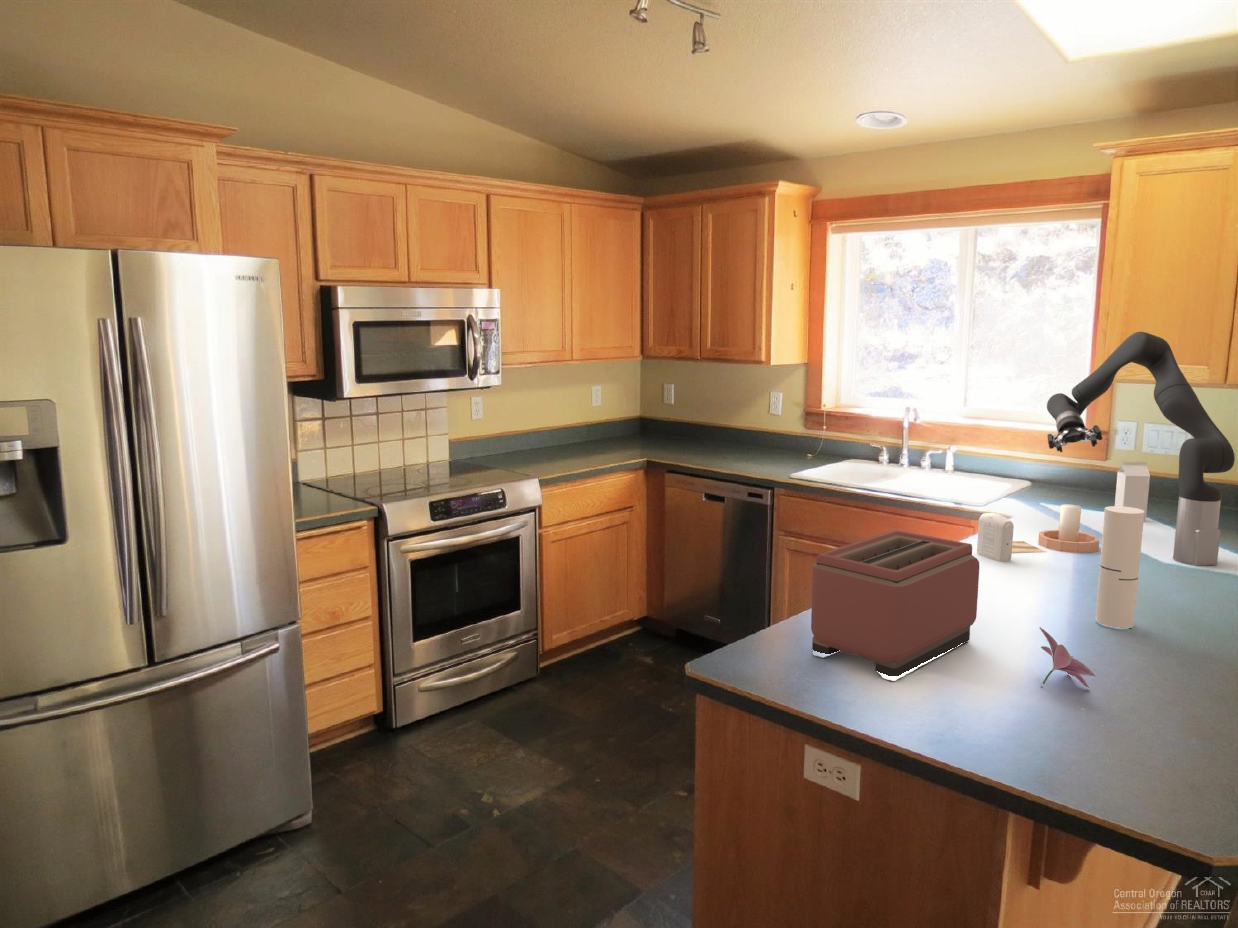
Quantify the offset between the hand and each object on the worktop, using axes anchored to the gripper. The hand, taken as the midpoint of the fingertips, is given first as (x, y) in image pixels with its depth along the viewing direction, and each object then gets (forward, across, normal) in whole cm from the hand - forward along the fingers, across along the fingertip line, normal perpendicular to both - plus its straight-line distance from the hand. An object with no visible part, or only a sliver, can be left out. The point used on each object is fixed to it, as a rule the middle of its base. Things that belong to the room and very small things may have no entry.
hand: (1077, 446), depth 247 cm
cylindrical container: (+82, -3, +7) cm, 82 cm away
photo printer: (+36, -27, +13) cm, 47 cm away
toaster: (+109, -43, -11) cm, 118 cm away
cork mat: (+23, -22, +18) cm, 36 cm away
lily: (+119, -15, -6) cm, 120 cm away
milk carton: (-26, +12, +40) cm, 49 cm away
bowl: (+17, -8, +23) cm, 30 cm away
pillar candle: (+17, -8, +22) cm, 29 cm away
